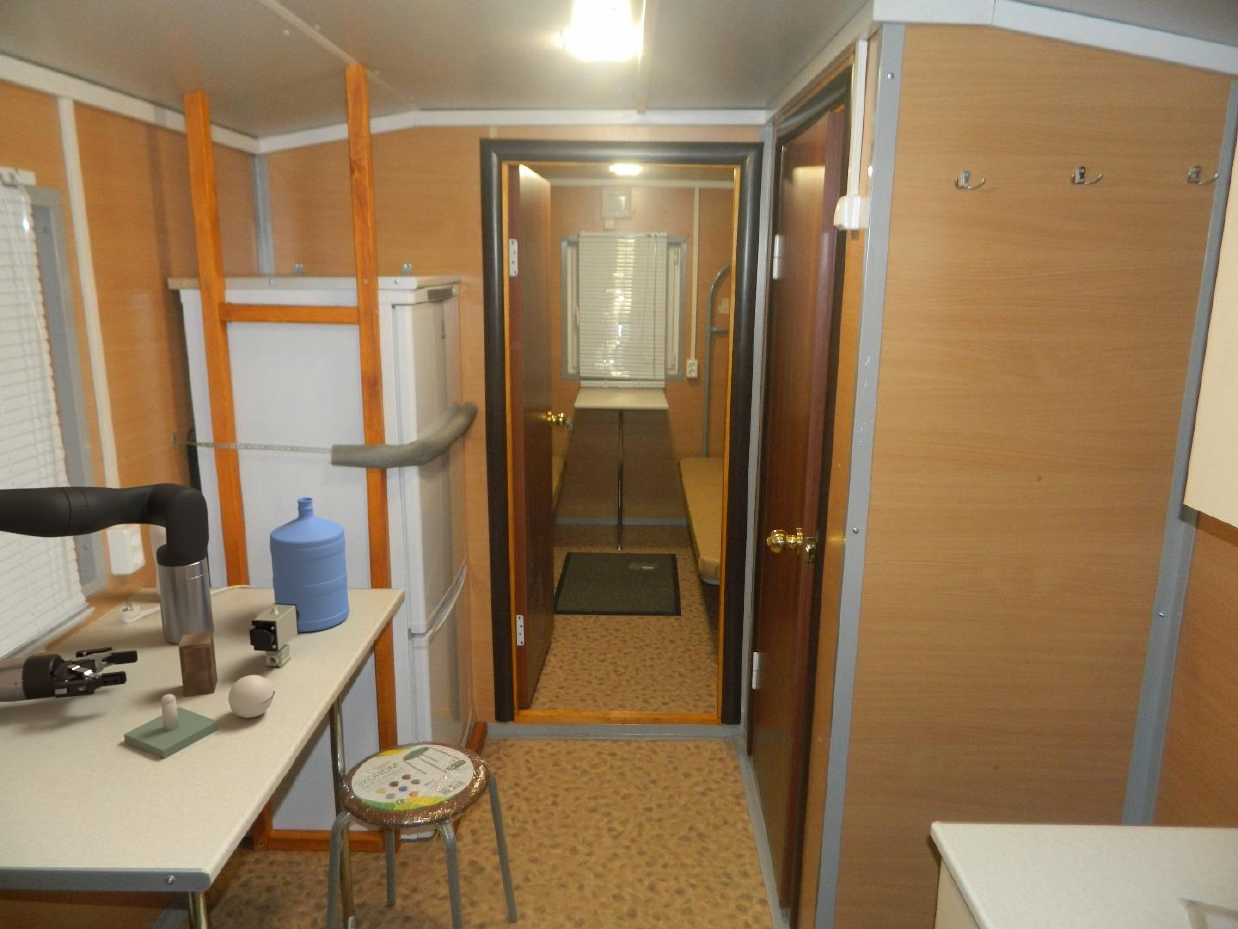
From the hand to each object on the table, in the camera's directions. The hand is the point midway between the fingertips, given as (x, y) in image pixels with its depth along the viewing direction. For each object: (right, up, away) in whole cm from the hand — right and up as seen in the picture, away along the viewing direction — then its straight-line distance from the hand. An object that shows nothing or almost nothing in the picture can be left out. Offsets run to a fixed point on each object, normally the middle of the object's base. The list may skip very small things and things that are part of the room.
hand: (131, 666), depth 150 cm
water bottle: (-17, +5, +47) cm, 50 cm away
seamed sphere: (+24, -8, -3) cm, 26 cm away
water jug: (+20, +2, +36) cm, 41 cm away
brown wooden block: (+10, -5, +5) cm, 12 cm away
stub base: (+13, -9, -11) cm, 19 cm away
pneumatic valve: (+20, -3, +15) cm, 26 cm away
